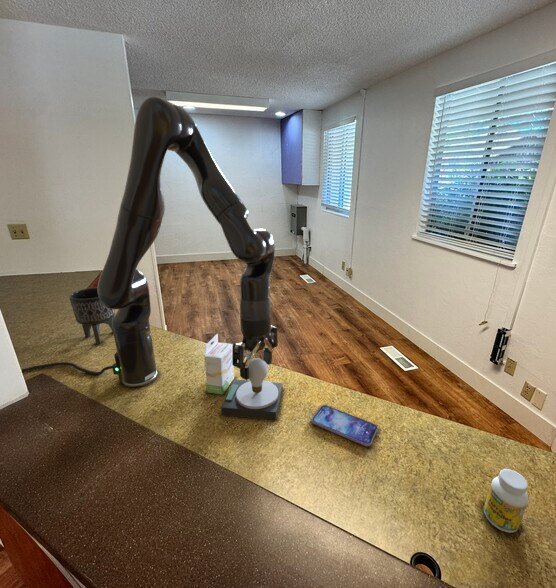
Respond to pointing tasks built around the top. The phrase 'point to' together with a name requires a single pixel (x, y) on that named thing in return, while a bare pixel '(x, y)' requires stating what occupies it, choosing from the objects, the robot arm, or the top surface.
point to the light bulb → (257, 373)
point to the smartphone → (345, 425)
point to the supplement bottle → (507, 500)
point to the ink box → (218, 366)
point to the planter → (90, 311)
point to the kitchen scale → (252, 400)
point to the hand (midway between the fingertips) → (256, 370)
